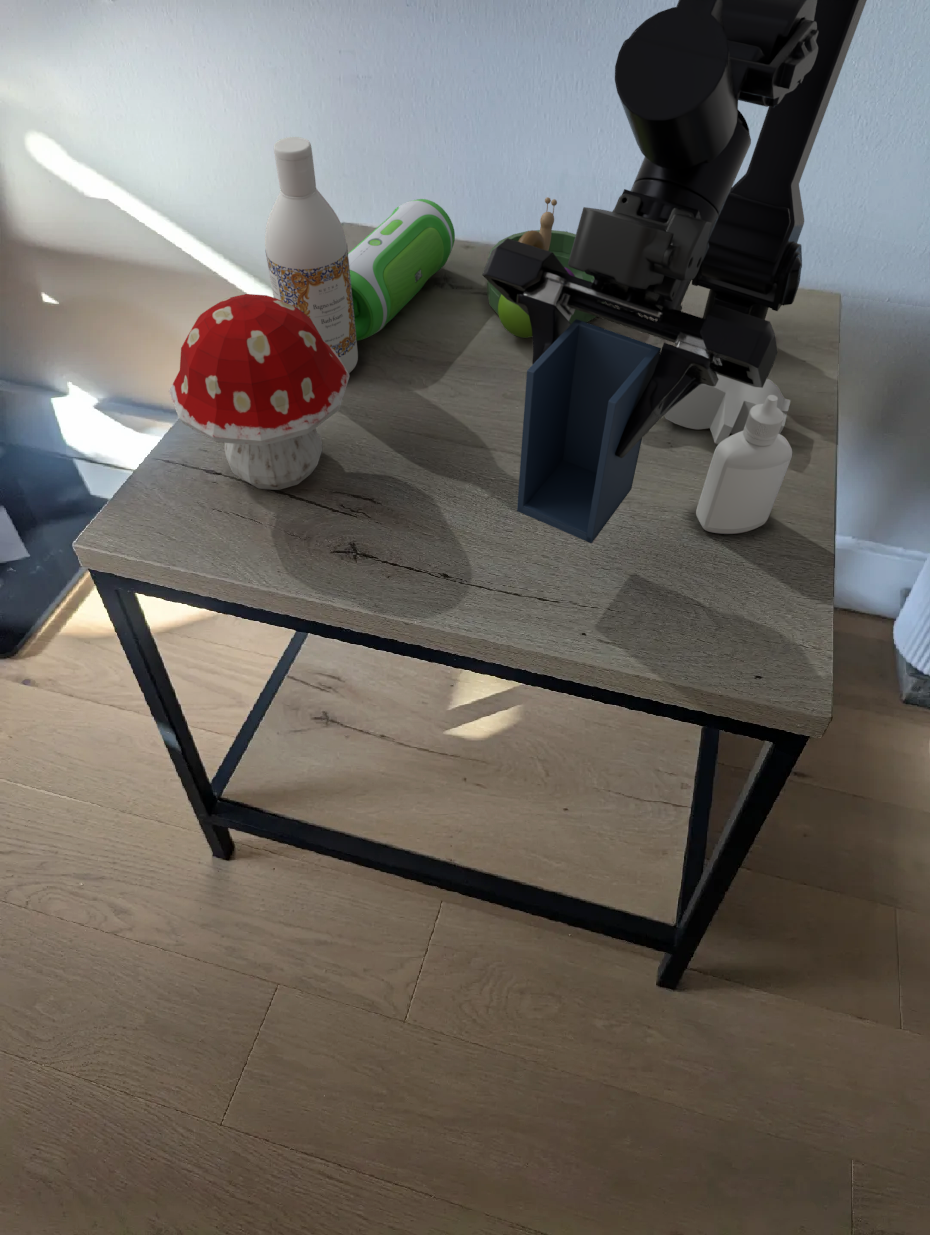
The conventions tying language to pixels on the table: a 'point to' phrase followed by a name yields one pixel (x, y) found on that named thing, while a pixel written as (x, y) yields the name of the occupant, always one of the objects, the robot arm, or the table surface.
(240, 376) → the decorative mushroom
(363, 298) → the speaker
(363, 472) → the table surface
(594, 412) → the dark blue rectangular box
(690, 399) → the bunny figurine
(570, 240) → the bowl
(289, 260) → the bath foam
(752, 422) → the eye dropper bottle
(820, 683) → the table surface
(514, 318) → the snail figurine
